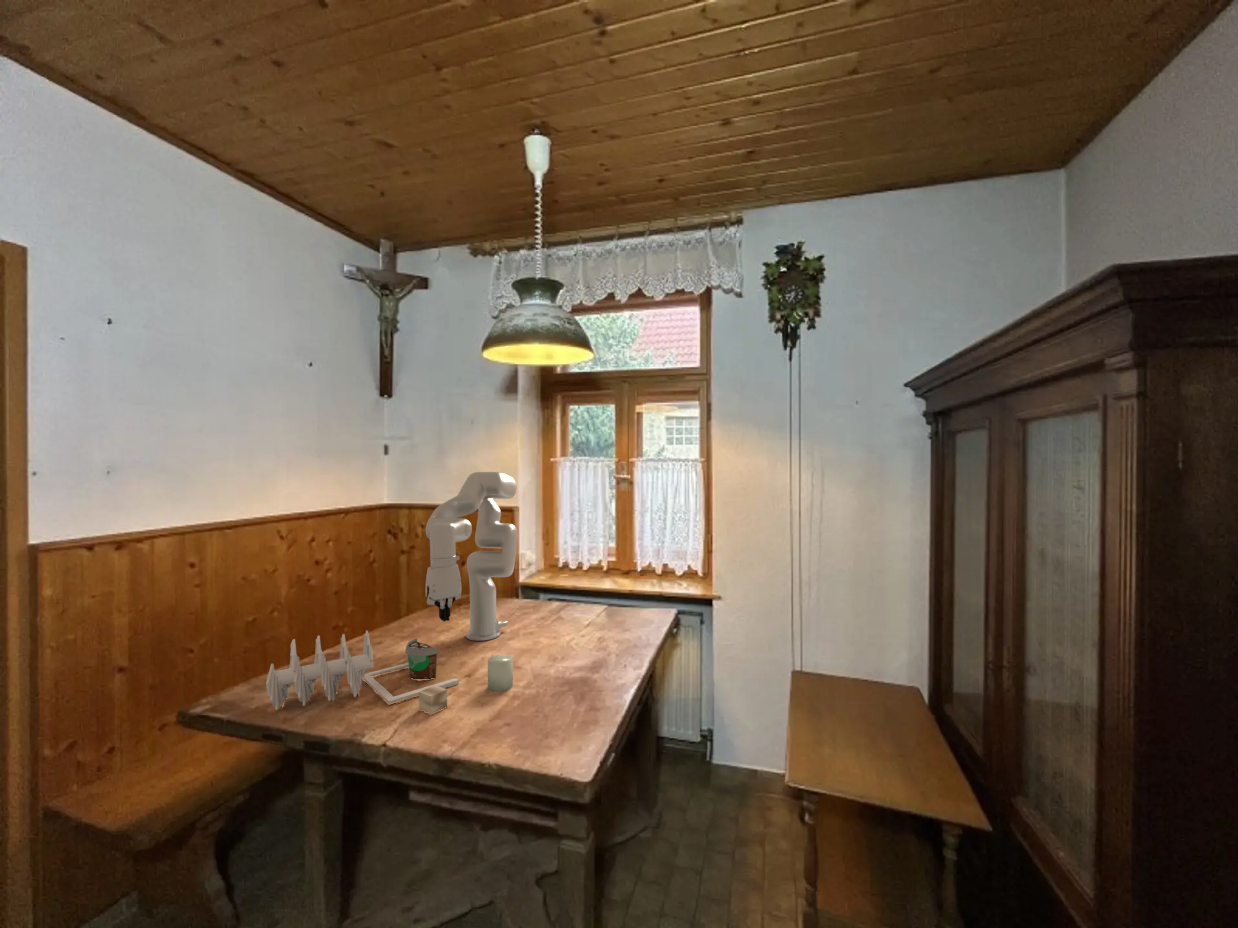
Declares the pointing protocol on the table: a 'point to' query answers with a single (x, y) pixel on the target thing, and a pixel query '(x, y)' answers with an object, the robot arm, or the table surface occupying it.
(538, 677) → the table surface
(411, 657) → the food container
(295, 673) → the spiral staircase
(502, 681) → the pale green cylinder
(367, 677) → the corral
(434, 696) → the birch block
